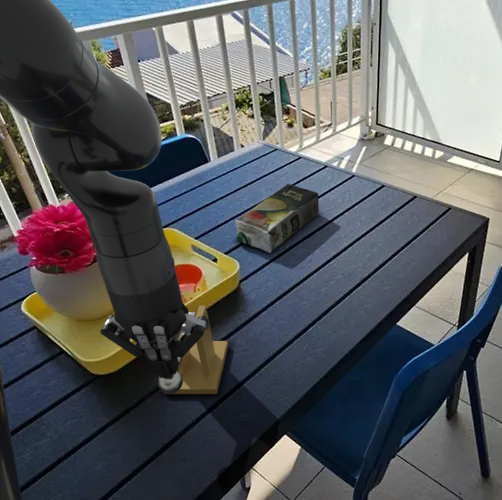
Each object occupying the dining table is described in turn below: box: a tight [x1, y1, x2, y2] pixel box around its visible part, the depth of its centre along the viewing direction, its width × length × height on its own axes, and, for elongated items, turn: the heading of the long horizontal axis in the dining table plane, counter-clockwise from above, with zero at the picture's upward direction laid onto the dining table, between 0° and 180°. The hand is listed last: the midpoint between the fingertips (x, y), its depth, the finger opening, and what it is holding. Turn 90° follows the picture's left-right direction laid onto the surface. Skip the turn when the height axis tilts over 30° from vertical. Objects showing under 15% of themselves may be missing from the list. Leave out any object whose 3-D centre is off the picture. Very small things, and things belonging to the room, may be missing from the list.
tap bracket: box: [163, 305, 229, 395], centre depth 77 cm, size 10×8×12 cm
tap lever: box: [157, 311, 197, 395], centre depth 71 cm, size 13×3×3 cm, turn 1°
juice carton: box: [235, 183, 320, 254], centre depth 112 cm, size 20×10×6 cm, turn 150°
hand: (168, 372), depth 66 cm, fingers closed
